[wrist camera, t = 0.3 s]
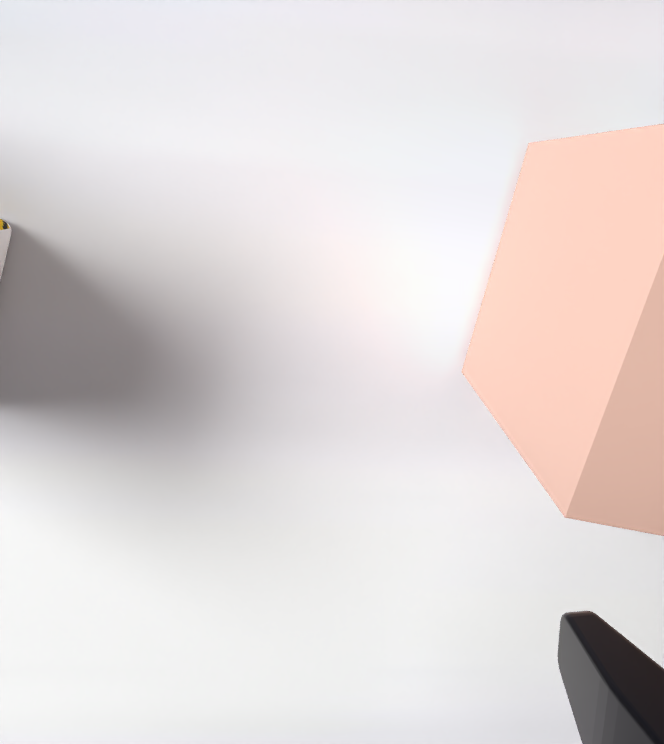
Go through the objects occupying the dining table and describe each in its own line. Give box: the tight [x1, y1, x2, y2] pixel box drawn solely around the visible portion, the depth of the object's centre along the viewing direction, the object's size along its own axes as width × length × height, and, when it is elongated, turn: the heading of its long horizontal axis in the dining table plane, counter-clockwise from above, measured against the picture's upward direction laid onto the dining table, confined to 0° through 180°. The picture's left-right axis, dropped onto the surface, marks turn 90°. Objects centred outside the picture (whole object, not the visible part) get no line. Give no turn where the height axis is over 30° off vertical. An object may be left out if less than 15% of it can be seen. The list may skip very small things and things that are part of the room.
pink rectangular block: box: [462, 124, 664, 536], centre depth 17 cm, size 8×4×10 cm, turn 168°
